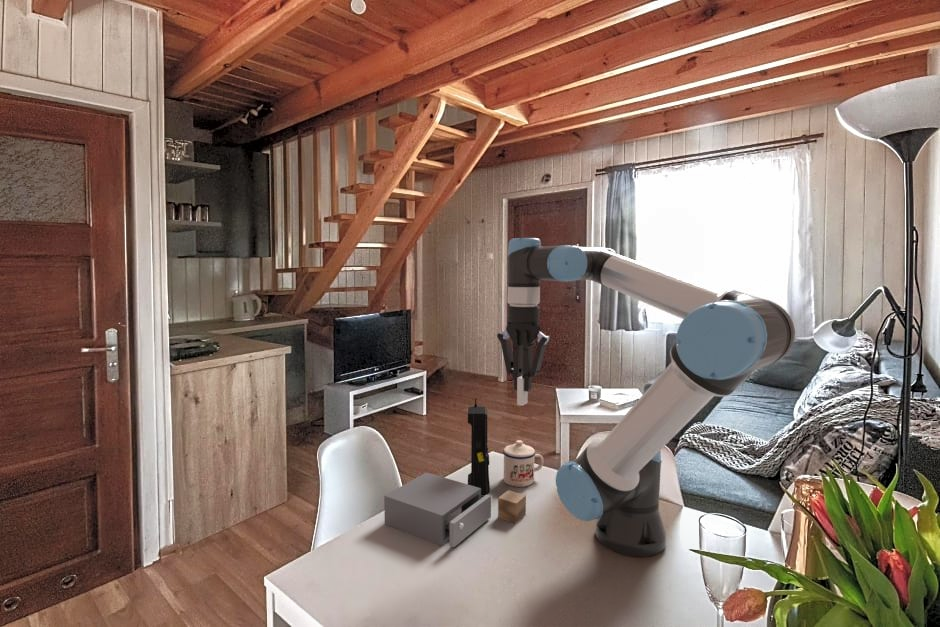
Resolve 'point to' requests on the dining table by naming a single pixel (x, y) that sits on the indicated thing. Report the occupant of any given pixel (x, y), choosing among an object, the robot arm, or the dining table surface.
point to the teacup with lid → (520, 464)
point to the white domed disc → (453, 515)
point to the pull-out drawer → (469, 520)
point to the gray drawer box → (428, 506)
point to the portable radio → (479, 449)
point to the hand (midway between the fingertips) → (522, 403)
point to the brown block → (512, 506)
